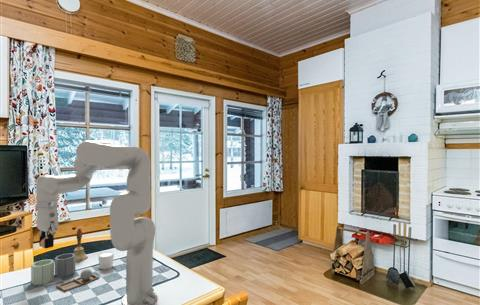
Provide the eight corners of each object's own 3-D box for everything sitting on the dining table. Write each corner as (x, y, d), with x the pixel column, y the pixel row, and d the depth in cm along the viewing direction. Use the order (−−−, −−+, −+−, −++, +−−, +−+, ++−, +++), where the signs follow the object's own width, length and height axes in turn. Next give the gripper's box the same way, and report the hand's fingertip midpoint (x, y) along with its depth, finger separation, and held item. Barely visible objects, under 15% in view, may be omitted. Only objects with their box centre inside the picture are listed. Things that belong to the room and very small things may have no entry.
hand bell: (70, 257, 149) (71, 227, 149) (88, 254, 152) (88, 226, 152) (68, 262, 141) (68, 231, 141) (87, 260, 145) (87, 230, 145)
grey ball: (93, 279, 121) (93, 269, 121) (83, 283, 118) (83, 272, 118) (88, 276, 124) (88, 266, 124) (78, 280, 120) (78, 270, 120)
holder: (98, 280, 122) (98, 276, 122) (64, 294, 110) (64, 289, 110) (90, 276, 126) (90, 272, 126) (56, 289, 114) (56, 285, 114)
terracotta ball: (54, 247, 120) (54, 237, 120) (42, 250, 116) (42, 239, 116) (49, 245, 122) (50, 235, 122) (38, 248, 119) (38, 237, 119)
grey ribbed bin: (77, 274, 128) (78, 255, 128) (60, 280, 122) (60, 260, 122) (69, 270, 133) (69, 252, 133) (52, 275, 126) (52, 257, 126)
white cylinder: (107, 272, 130) (107, 257, 130) (94, 271, 132) (95, 256, 132) (116, 266, 137) (116, 252, 137) (104, 265, 138) (104, 251, 138)
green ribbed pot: (56, 281, 121) (56, 261, 121) (36, 288, 115) (36, 267, 115) (48, 277, 125) (48, 258, 125) (28, 283, 119) (28, 263, 119)
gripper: (65, 205, 118) (65, 247, 118) (48, 200, 127) (47, 240, 127) (45, 208, 111) (45, 253, 111) (28, 203, 121) (28, 244, 121)
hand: (46, 245), depth 119 cm, fingers closed on terracotta ball, 4 cm apart
